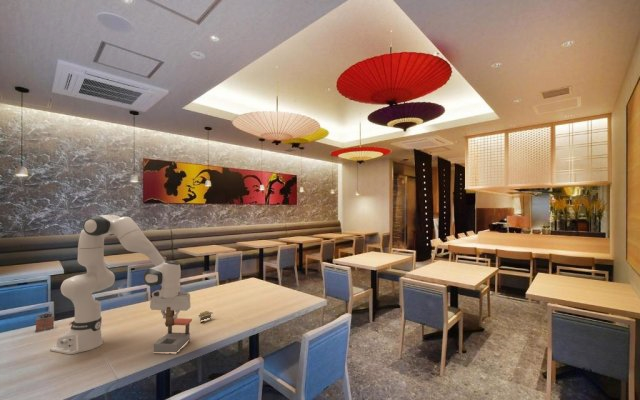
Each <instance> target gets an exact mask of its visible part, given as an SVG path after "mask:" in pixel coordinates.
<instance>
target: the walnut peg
mask: <svg viewBox="0 0 640 400" xmlns="http://www.w3.org/2000/svg"><path fill="white" fill-rule="evenodd" d="M165 313H166V318H165V322H166V325H165V327H167V328H168V327H171V326H172V327H173V326H175V325H174V319H173V315H175V314H176V312H175V310H171V307H167V310H166V311H165Z"/></svg>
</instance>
